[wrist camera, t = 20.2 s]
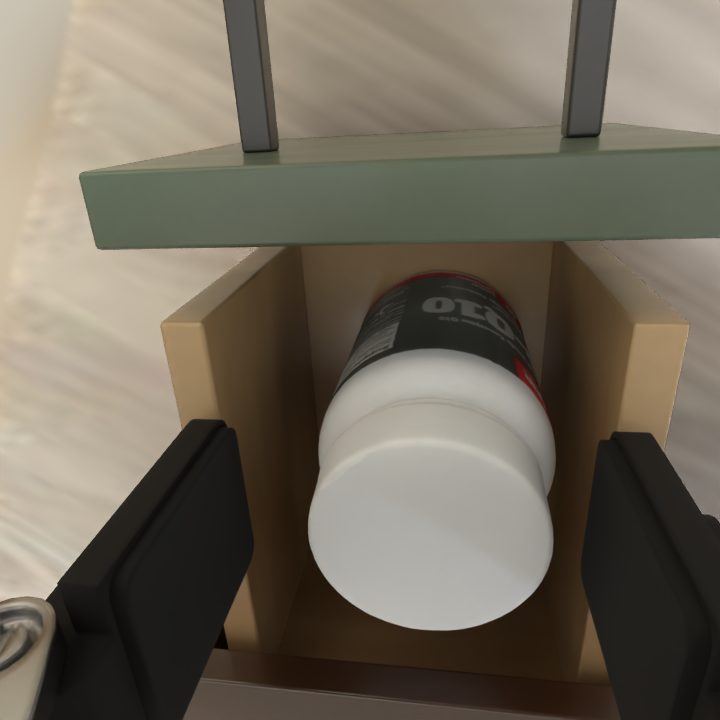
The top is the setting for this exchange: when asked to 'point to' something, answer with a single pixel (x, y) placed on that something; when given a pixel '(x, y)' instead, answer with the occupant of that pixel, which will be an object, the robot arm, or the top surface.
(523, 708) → the cabinet
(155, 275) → the top surface
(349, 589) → the pill bottle
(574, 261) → the drawer
